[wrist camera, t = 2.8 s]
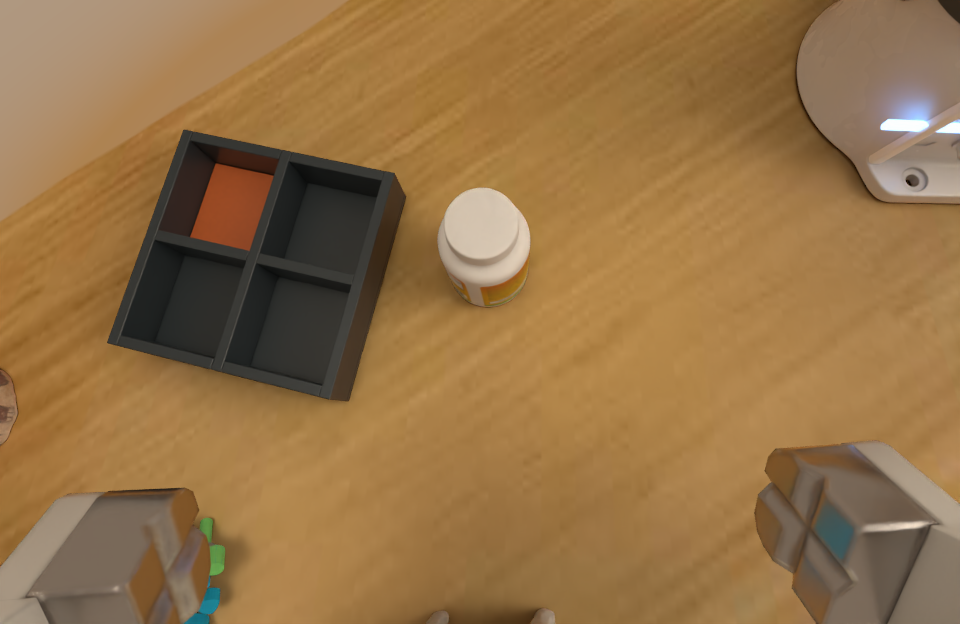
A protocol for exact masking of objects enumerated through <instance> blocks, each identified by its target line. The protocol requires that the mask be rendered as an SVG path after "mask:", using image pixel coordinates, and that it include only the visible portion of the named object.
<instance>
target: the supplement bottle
mask: <svg viewBox="0 0 960 624" xmlns="http://www.w3.org/2000/svg"><path fill="white" fill-rule="evenodd" d="M438 250H439V254H440V258H441V260H442V262H443V265H444V267H445V269H446V271H447V273H448V275H449V277H450V280H451V282H452V284H453V286H454V288H455V289H456V291H457V292H458V293H459V294H460V295H461V296H462V297H463V298H464V299H465V300H467V301H468V302H470V303H472V304H475V305H478V306H483V307H494V306H499V305H502V304H504V303H507V302H509V301H510V300H512V299H513V298H514V297H515V296H516V295H517V294H518V293H519V292H520V291H521V289H522V288H523V286H524V284H525V281H526V278H527V274H528V266H529V254H530V232H529V228H528V225H527V222H526V220H525V218H524V216H523V215H522V214H521V212H520V211H519V210H518V209H517V208H516V207H515V206H514V205H513V203H512V202H511V201H510V200H509V199H508V198H507V197H506V196H505V195H504V194H502V193H500V192H498V191H496V190H493V189H489V188H474V189H470V190H467V191H465V192H463V193H461V194H460V195H458V196H457V197H456V198H455V199H454V200H453V201H452V202H451V203H450V205H449V207H448V208H447V210H446V213H445V216H444V218H443V220H442V222H441V225H440V228H439V231H438Z"/></svg>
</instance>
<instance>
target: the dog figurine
mask: <svg viewBox="0 0 960 624" xmlns="http://www.w3.org/2000/svg"><path fill="white" fill-rule="evenodd" d="M448 622H449V615H448V613H447V612H446V611H436V612H435V613H433V614H432V616H431V617H430V618H429V620H428V621H427V622H426V624H448ZM530 624H555V615H554V612H553V611H551V610H549V609H545V608H542V609H539V610H538V611H537V612H536V613H535V616H534V618H533V620H532V621H531V623H530Z"/></svg>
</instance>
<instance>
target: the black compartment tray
mask: <svg viewBox="0 0 960 624" xmlns="http://www.w3.org/2000/svg"><path fill="white" fill-rule="evenodd" d="M405 198H406V196H405V194H404V192H403V190H402V188H401V186H400V184H399V182H398V179H397V177H396V175H395V173H391V172H387V171H381V170H376V169H371V168H367V167H362V166H357V165H352V164H347V163H343V162H338V161H333V160H328V159H323V158H319V157H314V156H309V155H304V154H299V153H294V152H290V151H285V150H280V149H275V148H270V147H265V146H261V145H256V144H251V143H246V142H241V141H237V140H232V139H227V138H222V137H217V136H213V135H208V134H203V133H198V132H193V131H189V130H183V133H182V135H181V138H180V141H179V144H178V147H177V149H176V152H175V155H174V158H173V160H172V163H171V166H170V169H169V172H168V174H167V177H166V180H165V183H164V186H163V188H162V191H161V194H160V197H159V199H158V202H157V205H156V208H155V211H154V213H153V216H152V219H151V222H150V224H149V227H148V230H147V233H146V236H145V238H144V241H143V244H142V247H141V250H140V252H139V255H138V258H137V261H136V263H135V266H134V269H133V272H132V275H131V277H130V280H129V283H128V286H127V289H126V291H125V294H124V297H123V300H122V302H121V305H120V308H119V311H118V314H117V316H116V319H115V322H114V325H113V327H112V330H111V333H110V336H109V339H108V341H107V343H109V344H113V345H117V346H120V347H124V348H128V349H132V350H136V351H140V352H144V353H148V354H152V355H156V356H160V357H164V358H168V359H172V360H176V361H180V362H184V363H188V364H192V365H195V366H199V367H203V368H207V369H212V370H215V371H219V372H223V373H227V374H231V375H235V376H239V377H243V378H247V379H251V380H255V381H259V382H263V383H267V384H270V385H274V386H278V387H282V388H286V389H290V390H294V391H298V392H302V393H306V394H310V395H314V396H318V397H322V398H326V399H330V400H340V401H349V398H350V394H351V391H352V387H353V384H354V380H355V377H356V373H357V369H358V366H359V362H360V359H361V355H362V352H363V348H364V345H365V341H366V337H367V334H368V330H369V327H370V323H371V320H372V316H373V312H374V309H375V305H376V302H377V298H378V295H379V291H380V288H381V284H382V280H383V277H384V273H385V270H386V266H387V263H388V259H389V255H390V252H391V248H392V245H393V241H394V238H395V234H396V231H397V227H398V223H399V220H400V216H401V213H402V209H403V206H404V202H405Z"/></svg>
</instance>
